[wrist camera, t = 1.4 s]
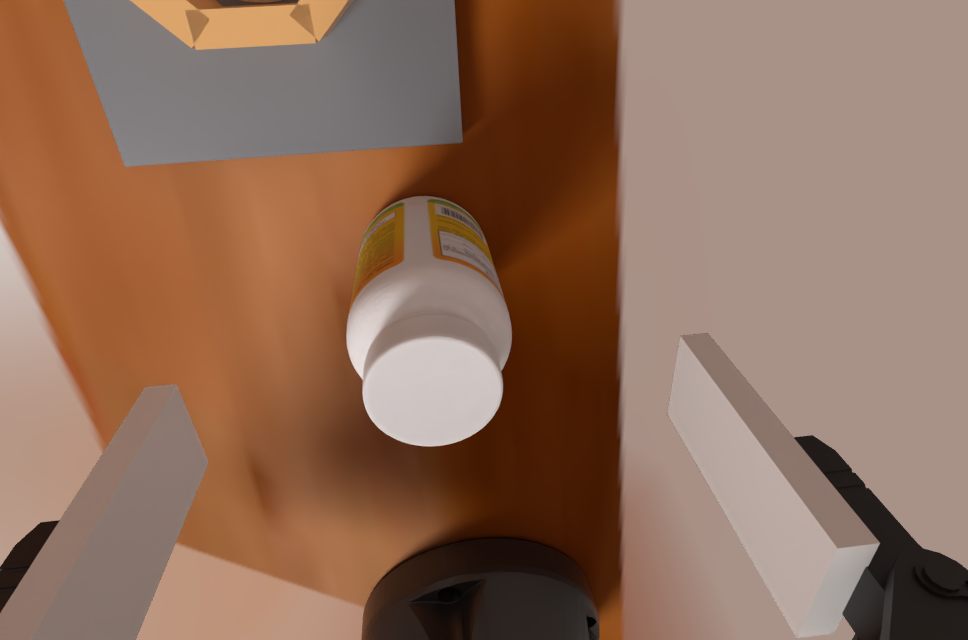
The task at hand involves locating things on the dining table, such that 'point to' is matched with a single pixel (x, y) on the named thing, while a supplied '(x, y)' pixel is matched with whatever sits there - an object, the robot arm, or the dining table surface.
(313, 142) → the socket plate
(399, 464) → the dining table surface
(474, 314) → the supplement bottle
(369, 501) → the dining table surface
